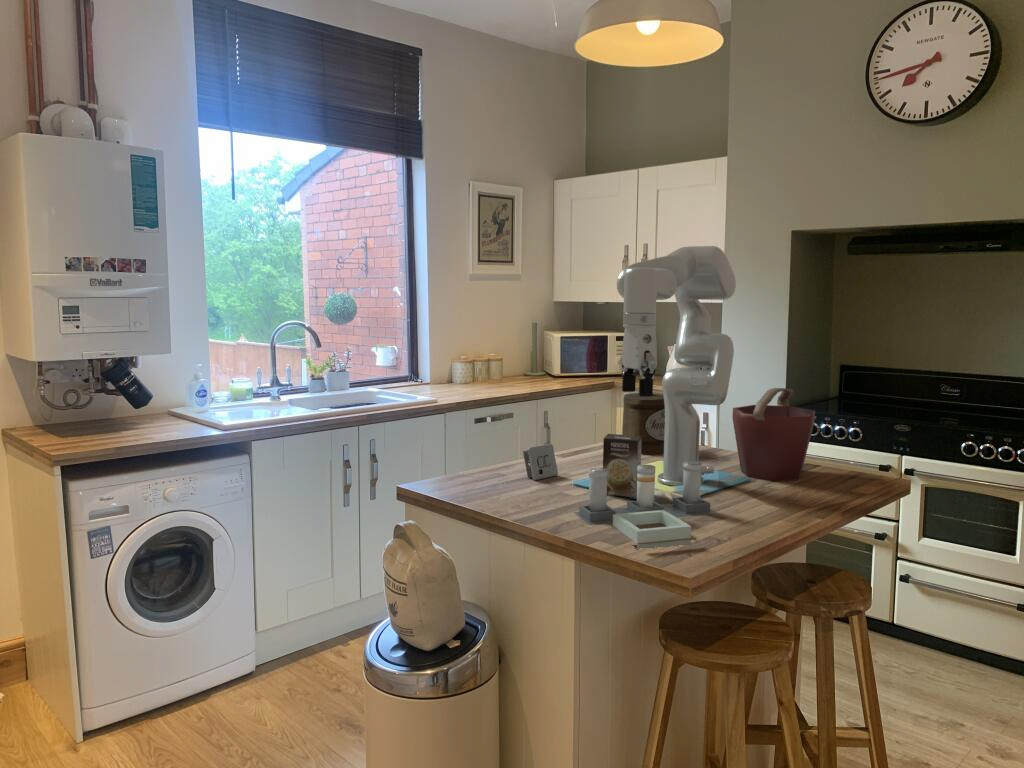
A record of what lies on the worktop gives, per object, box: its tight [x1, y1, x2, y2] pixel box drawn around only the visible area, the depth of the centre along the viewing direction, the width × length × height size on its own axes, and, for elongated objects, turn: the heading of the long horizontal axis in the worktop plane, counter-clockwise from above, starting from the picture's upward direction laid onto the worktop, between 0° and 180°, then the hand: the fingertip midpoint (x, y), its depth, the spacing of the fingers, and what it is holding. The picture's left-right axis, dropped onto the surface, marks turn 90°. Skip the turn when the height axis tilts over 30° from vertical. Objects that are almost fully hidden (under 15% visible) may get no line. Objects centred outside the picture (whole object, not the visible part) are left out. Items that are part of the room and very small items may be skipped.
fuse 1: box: [588, 467, 608, 513], centre depth 177 cm, size 4×4×11 cm
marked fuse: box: [636, 464, 656, 508], centre depth 181 cm, size 4×4×11 cm
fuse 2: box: [682, 461, 703, 504], centre depth 184 cm, size 4×4×11 cm
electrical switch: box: [522, 443, 559, 481], centre depth 221 cm, size 9×5×9 cm, turn 131°
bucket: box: [732, 387, 816, 482], centre depth 223 cm, size 24×22×25 cm
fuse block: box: [573, 496, 717, 526], centre depth 182 cm, size 32×10×4 cm, turn 106°
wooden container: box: [621, 392, 665, 455], centre depth 256 cm, size 15×15×22 cm
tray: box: [612, 510, 692, 549], centre depth 168 cm, size 12×12×4 cm
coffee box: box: [602, 433, 642, 498], centre depth 198 cm, size 9×6×16 cm
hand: (636, 393), depth 183 cm, fingers open, 9 cm apart
